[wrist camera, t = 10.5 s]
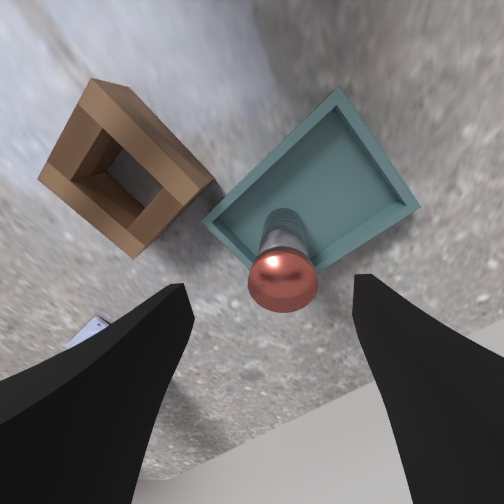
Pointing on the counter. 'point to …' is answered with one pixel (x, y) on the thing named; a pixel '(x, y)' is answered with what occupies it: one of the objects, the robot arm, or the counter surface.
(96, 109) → the bore block
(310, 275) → the red capped cylinder
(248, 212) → the tray
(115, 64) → the counter surface
